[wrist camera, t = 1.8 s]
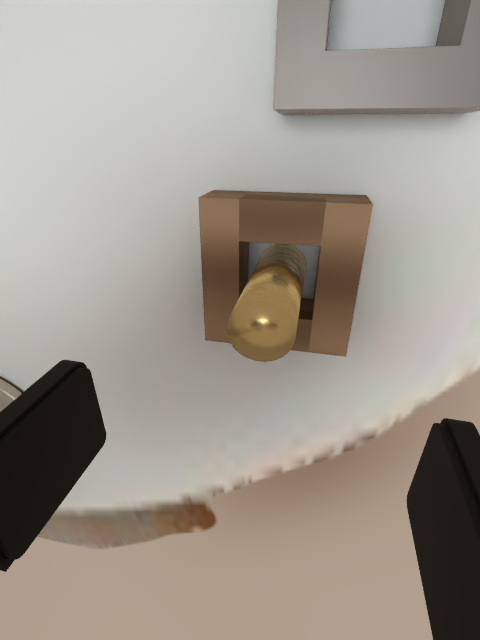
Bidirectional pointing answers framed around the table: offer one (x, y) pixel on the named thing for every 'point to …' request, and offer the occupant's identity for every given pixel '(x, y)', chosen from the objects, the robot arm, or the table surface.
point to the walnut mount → (285, 228)
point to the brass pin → (269, 305)
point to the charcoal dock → (375, 67)
